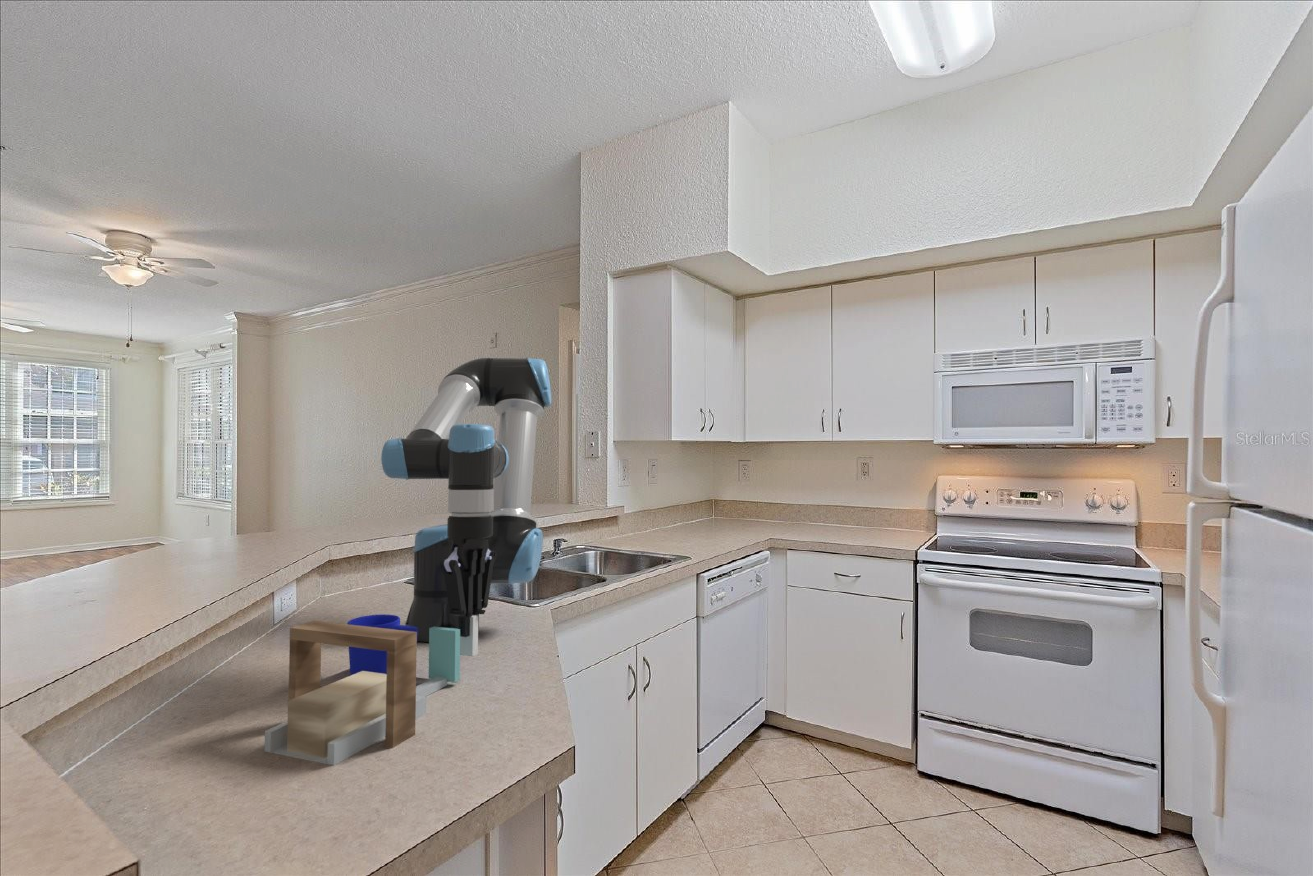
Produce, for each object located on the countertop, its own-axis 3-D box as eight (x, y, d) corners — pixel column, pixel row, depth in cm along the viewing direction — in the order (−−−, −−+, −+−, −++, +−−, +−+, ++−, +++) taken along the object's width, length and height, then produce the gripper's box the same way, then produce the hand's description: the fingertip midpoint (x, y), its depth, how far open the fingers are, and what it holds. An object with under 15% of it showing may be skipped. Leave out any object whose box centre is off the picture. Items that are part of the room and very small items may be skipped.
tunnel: (312, 726, 88) (315, 620, 89) (415, 744, 83) (416, 632, 83) (287, 737, 85) (290, 627, 85) (392, 758, 79) (394, 640, 79)
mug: (401, 692, 101) (402, 628, 102) (334, 686, 104) (335, 624, 104) (429, 675, 109) (430, 616, 110) (367, 670, 112) (368, 613, 112)
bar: (361, 714, 89) (362, 670, 90) (396, 719, 87) (397, 675, 88) (286, 750, 78) (288, 701, 78) (324, 758, 76) (325, 707, 76)
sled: (418, 683, 104) (419, 624, 104) (475, 691, 100) (476, 630, 101) (264, 757, 78) (266, 679, 78) (333, 772, 74) (335, 689, 75)
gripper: (474, 511, 116) (472, 642, 115) (427, 516, 104) (424, 663, 102) (510, 512, 114) (508, 646, 112) (465, 517, 101) (463, 668, 100)
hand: (468, 654), depth 107 cm, fingers closed
